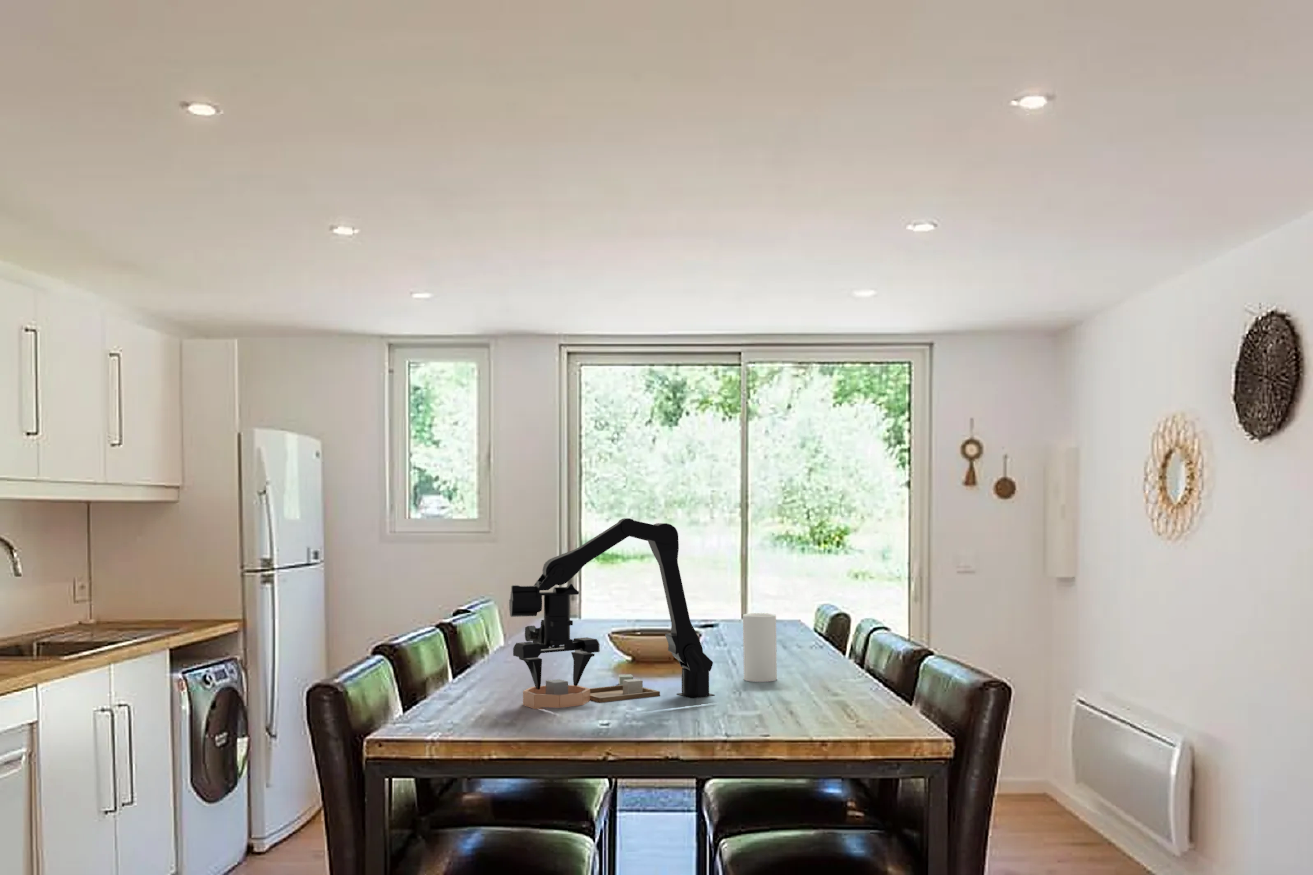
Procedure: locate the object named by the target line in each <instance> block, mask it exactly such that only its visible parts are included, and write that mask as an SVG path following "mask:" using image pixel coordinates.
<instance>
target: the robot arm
mask: <svg viewBox="0 0 1313 875" xmlns="http://www.w3.org/2000/svg"><path fill="white" fill-rule="evenodd" d="M628 537H631V538H635V539H639V540H643V541H647V543H648V545H649V548H650V549H651V552H652V555H653V556H654V558H655V560H656V562H657V563H658V566H659V570H660V576H661V579H662V586H663V589H664V595H665V599H666V604H667V610H668V614H669V618H670V624H671V627H670V632H669V633H665V634H664V635H665V639H666V641H667V644H668V648H667V651H668V652H670V653H671V655H672V657H674V658H675V659H676V660H677V661H678V663H679V665H680V667H681V692H678V693H676V695H677V696H681V697H684V698H685V697H686V698H689V699H699V698H706V697H715V696H716V694H713V693H710V672H711V670H712V668H713V664H714V661H712V659H710V657H709V656H707V655H706V654H705V652H704V649H703V646H702V643H701V641H700V638H699V636H698V633H697V632H696V630H695V628H694V626H693V624H692V622H691V619H690V618H691V617H690V614H689V610H688V604H687V601H686V596H685V591H684V590H685V589H684V587H683V580H682V577H681V572H680V567H679V563H678V557H679V547H680V546H679V545H680V544H679V533H678V529H677V528H676V527H675V526H674V525H673V524H671V523H667V522H666V523H663V522H656V523H652V524H651V523H647V522H642V521H639V520H634V519H632V518H631V517H630V518H621V519H620V520H618V522H617V523H614V524H613V525H612V526H610V527H609V528H607V529H605V530H604V531H603V532H601V533H599V534H598V535H595V537H593V538H591V539H590V540H588V541H586V542H585V543H583V544H582V545H580V546H579V547H577V548H575V549H572V550H569V551H567V552H565V553H562V554H558V555H557V556H554V557H552V558H549V559H548V560H547V561H545V563H544V564H543V567H542V573H541V575H540V577H539V578H538V579H537V580H536V581H535V583H534V585H518V584H517V585H516V584H515V585H513V584H512V585H511V586H510V587H511V588H510V597H509V600H508V601H509V602H508V605H509V607H508V608H509V616H510V618H514V617H515V618H516V617H517V618H518V617H519V618H520V617H523V618H524V617H537V616H538V613H540V612H542V611H543V619H541V620H540V627H536V626H535V625H527V626H526V627H524V639H525V641H523V642H516V643H515V644H514V646H513V648H512V651H513V652H512V653H513V654H512V655H513V657H517V658H518V659H519V660H520V661H524V663H525V664H526V666H527V668H528V671H529V672H530V675H531V677H532V682H533V684H534V687H536V689H537V690H540V686H542V670H543V669H542V668H543V666H542V664H543V659H542V658H540V657H539V656H540V655H541V654H546V653H548V654H549V653H557V652H558V653H559V652H569V651H570V652H571V651H572V652H571V656H572V659H573V660H572V661H573V664H572V665H573V667H572V668H573V669H572V670H573V674H572V682H573V685H574V686H577V685H579V683H580V681H581V678H582V676H583V674H584V671H585V669H586V667H587V665H588V664H589V662H590V660H591V659H592V657H595V653H600V648H601V647H600V645H601V644H600V642H599V640H598V639H597V638H593V637H592V638H591V637H588V636H587V637H577V638H576V637H575V638H573V639H572V638H571V626H574V620H572V619H571V596H574V595H575V596H576V595H577V596H578V595H579V594H580V591H579V590H577V589H576V587H575V586H574V584H572V583H568V582H569V581H570V580H571V579H572V578H574V576H576V575H577V574H578V573H579V571H581V570H582V568H583V567H584V566H585V565H587V564H588V563H589V562H592V560H594V559H596V558H597V557H598V556H600V555H602V554H603V553H605V552H607V551H608V550H609V549H611V548H612V547H614V546H616V545H618V544H619V543H620V542H623V541H624V540H625V539H627V538H628ZM567 583H568V585H567V586H563V585H564V584H567ZM557 586H558V587H557ZM559 586H560V587H559ZM552 588H553V589H552ZM550 589H552V591H549V590H550ZM542 609H543V610H542Z"/></svg>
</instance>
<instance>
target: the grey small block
mask: <svg viewBox="0 0 1313 875" xmlns="http://www.w3.org/2000/svg"><path fill="white" fill-rule="evenodd" d="M643 685H644V682H643V680H642V679H639V678H633V679H629V680H623V693H624V694H635V693H643V687H644V686H643Z"/></svg>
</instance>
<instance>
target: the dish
mask: <svg viewBox="0 0 1313 875" xmlns="http://www.w3.org/2000/svg"><path fill="white" fill-rule="evenodd" d="M590 701H591V700H590V689H589V688H588V687H586V686H582V685H579V684H578V685H577V686H574V684H568V694H562V695H551V694H546V684H544V685H541V686H540V690H537V689H536V687H535V686H530V687H528V688H527V689H525V690H523V691H522V706H525V707H527V708H531V709H534V710H545V708H556V709H557V708H558V709H559V708H567V707H569V708H570V707H575V706H577V707H578V706H584V705H585V704H587V703H589V702H590Z"/></svg>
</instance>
